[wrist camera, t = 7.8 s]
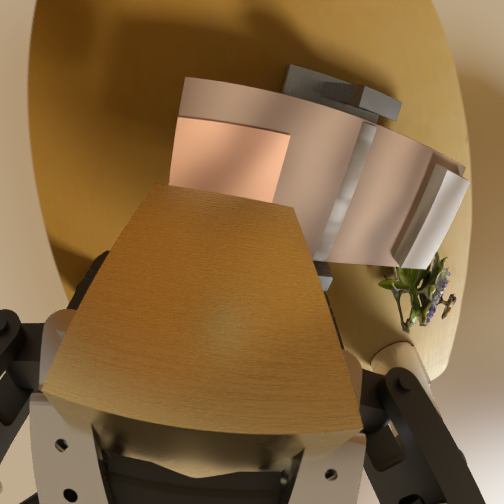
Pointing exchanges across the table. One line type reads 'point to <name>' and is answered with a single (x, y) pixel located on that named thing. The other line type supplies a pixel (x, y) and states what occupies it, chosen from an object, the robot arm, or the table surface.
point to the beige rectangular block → (206, 341)
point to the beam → (319, 172)
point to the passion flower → (421, 291)
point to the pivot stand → (341, 98)
